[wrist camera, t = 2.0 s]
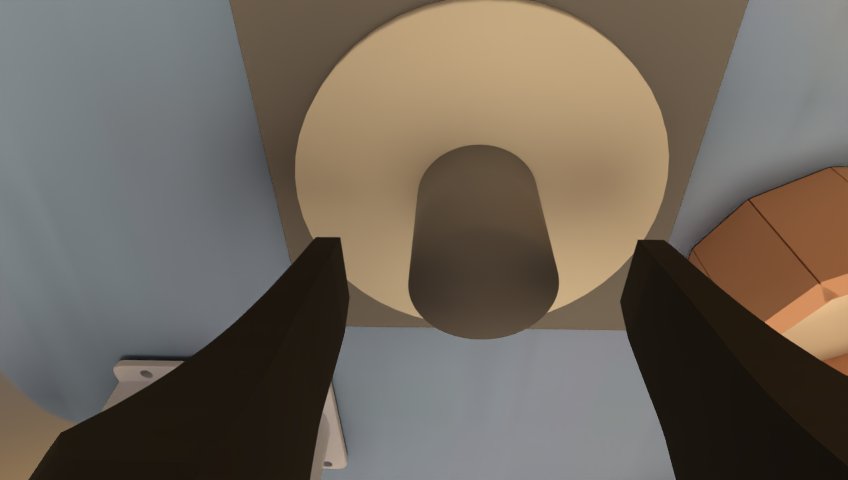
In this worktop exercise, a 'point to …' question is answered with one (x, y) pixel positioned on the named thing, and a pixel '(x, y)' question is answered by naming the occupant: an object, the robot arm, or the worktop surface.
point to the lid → (482, 163)
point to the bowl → (789, 262)
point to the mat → (379, 3)
